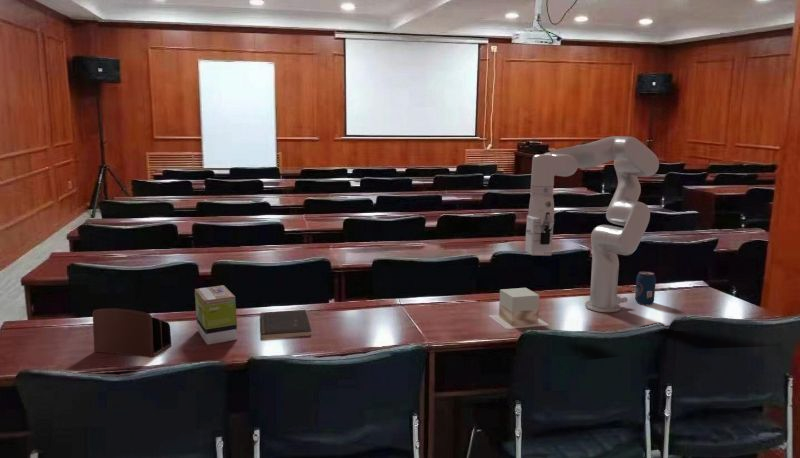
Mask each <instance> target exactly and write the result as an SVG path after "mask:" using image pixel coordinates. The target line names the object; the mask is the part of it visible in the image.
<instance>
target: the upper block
mask: <svg viewBox="0 0 800 458" xmlns="http://www.w3.org/2000/svg"><path fill="white" fill-rule="evenodd" d="M499 304H501V305H503V306H504V307H506V308H507V309H509V310H510V311H512V312H514V311H526V310H538V309H539V310H540V294H538V293H536V292H534V291H533V290H531V289H529V288H527V287H519V288H503V289H499Z"/></svg>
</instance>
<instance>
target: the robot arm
mask: <svg viewBox="0 0 800 458" xmlns="http://www.w3.org/2000/svg"><path fill="white" fill-rule="evenodd" d="M612 161H613V167H614V170H615V173H616V177H617V187H616V188H615V192H614V193H613V196H612V198H611V201H610V203H609V205H608V207H607V210H606V213H605V218H606V220H607V221H608V222H609V223H611V224H614V225H618V226H614V225H610V224H600V225H596V227H593V230H592V231H591V233H590V244H591V251H592V253H591V254H592V256H591V257H592V259H591V274H590V275H591V278H590V291H589V292H590V293H589V300H587V301H586V302H585V303H584V307H585V308H586V309H588V310H591V311H593V312H599V313H616V312H618V311H620V310H621V305H620V304H621V303H627V302H628V297H625V296H623V297H621V296H618V282H619V270H620V267H619V266H620V262H619V261H620V260H619V257H618V255H622V256H630V255H632V254H633V253H634V252H635V251H636V250H637V249H638V246H639V245H640V242H641V241H642V238H643V236H644V234H645V232H646V230H647V228H648V225H649V223H650V220H651V219H650V218H651V211H650V208H649V206H648V205H647V204H646V203H644V202H641V201H638V200H639V197H640V195H641V193H642V192H641V191H642V190H641V189H642V188H641V187H642V186H641V183H640V181H639V179H638V178H639V177H651V176H653V175H655V174H656V173H657V172H658V170H659V167H660V162H659V158H658V156H657V155H656V153H655V152H653V150H651V149H650V148H649V147H648V146H647V145H645V144H644V143H643V142H642V141H640V140H639V139H637V138H635V137H633V136H625V135H624V136H620V135H619V136H617V135H613V136H608V137H603V138H602V139H599V140H596V141H591V142H588V143H583V144H578V145H573V146H569V147H563V148H558V149H554V150H551V151H549V152H545V153H543V154H540V153H539V154H538V153H537V154H535V155H533V157H532V161H531V162H532V163H531V176H530V192H529V194H530V198H529V203H528V213H527V214H526V217H527V216H531V217H535V218H538V219H539V224H540V225H541V229H542V232H543V233H541V241H540V244H542V245H544V244H549V243H550V233H551V230H552V228H553V229H554V224H555V218H554V217H555V202H554V201H555V199H554V186H555V176H557V177H565V178H567V177H570V176H572V175H574V174H575V173H576V172H577V171H578V168H579V169H582V168H583V169H585V168H586V169H587V168H594V167H597V166H600V165H603V164H606V163H609V162H612ZM545 219H547V221H548V223H543V222H544V221H545ZM544 226H546V228H545V227H544ZM619 226H623V227H619Z"/></svg>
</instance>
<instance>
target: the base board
mask: <svg viewBox="0 0 800 458" xmlns="http://www.w3.org/2000/svg"><path fill="white" fill-rule="evenodd" d="M488 317H490V318H491V319H492V320H494V321H495V322H497V323H498V324H499V325H501V326H502V327H503V328H504V329H506V330H511V329H512V330H513V329H520V328H521V329H522V328H533V327H534V328H535V327H545V326H550V324H549V323H547V322H546V321H544V320H543V319H541V318H539V317H538V323H537V324H526V325H515V326H511V325H510V324H508V323H507V322H506V321H504V320H503V319H501V318H500V317H499V314H490V315H488Z"/></svg>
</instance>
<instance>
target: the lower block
mask: <svg viewBox="0 0 800 458" xmlns="http://www.w3.org/2000/svg"><path fill="white" fill-rule="evenodd" d="M539 311H540V308H539V309H538V310H526V311H514V312H512V311H510V310H509V309H507V308H506V307H504V306H503V305H501V304H500V303H499V309H498V315H499V317H500V318H501V319H503V320H504V321H506V322H507V323H508V324H510V325H511V326H515V325H526V324H537V323H538V318H539V317H540V316H539V315H540V313H539Z"/></svg>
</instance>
